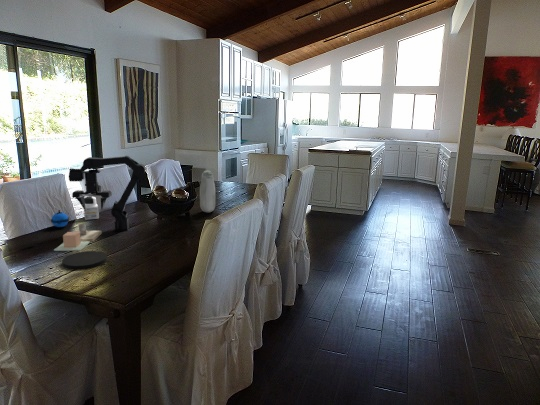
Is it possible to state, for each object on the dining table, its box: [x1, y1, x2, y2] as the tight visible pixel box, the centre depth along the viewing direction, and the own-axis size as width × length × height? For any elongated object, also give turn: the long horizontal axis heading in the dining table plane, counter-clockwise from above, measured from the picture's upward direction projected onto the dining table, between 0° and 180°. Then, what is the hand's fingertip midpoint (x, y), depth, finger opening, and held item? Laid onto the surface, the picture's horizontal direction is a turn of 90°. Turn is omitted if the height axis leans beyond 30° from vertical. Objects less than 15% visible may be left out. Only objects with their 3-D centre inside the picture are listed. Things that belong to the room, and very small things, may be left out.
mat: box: [53, 241, 91, 252], centre depth 187 cm, size 12×12×1 cm
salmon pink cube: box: [62, 231, 81, 247], centre depth 186 cm, size 6×6×6 cm
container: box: [83, 196, 100, 221], centre depth 236 cm, size 8×8×13 cm
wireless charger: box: [61, 250, 108, 271], centre depth 169 cm, size 18×18×2 cm
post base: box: [72, 223, 103, 243], centre depth 200 cm, size 14×14×7 cm
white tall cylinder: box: [199, 169, 216, 213], centre depth 255 cm, size 10×10×28 cm
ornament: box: [50, 209, 70, 228], centre depth 216 cm, size 9×9×10 cm
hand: (93, 209), depth 210 cm, fingers open, 9 cm apart
